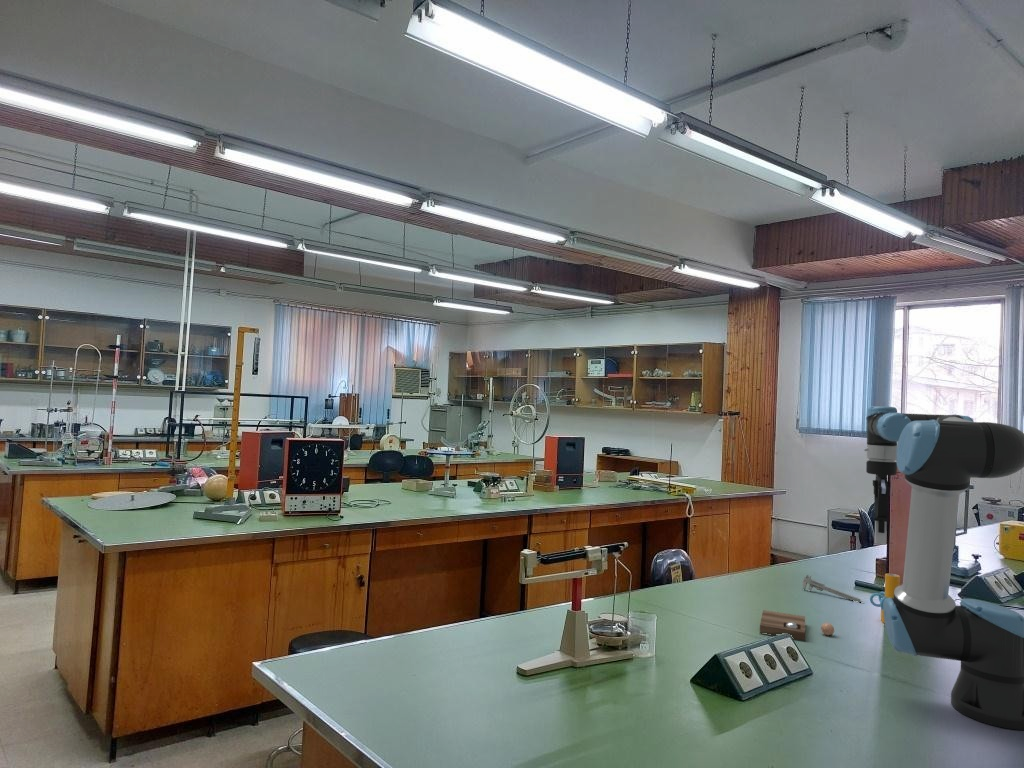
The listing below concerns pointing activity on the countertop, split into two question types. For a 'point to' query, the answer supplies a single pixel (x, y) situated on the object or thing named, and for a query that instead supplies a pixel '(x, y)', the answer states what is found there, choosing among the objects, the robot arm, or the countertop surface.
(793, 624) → the steel ball
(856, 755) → the countertop surface
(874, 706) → the countertop surface
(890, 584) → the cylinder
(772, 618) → the hole plate
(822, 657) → the countertop surface
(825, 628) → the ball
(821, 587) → the caliper
